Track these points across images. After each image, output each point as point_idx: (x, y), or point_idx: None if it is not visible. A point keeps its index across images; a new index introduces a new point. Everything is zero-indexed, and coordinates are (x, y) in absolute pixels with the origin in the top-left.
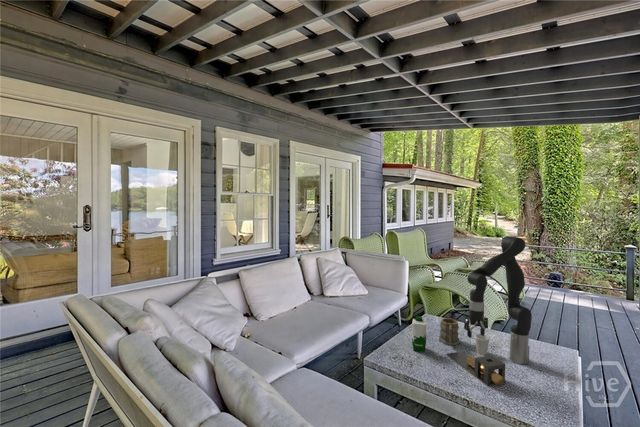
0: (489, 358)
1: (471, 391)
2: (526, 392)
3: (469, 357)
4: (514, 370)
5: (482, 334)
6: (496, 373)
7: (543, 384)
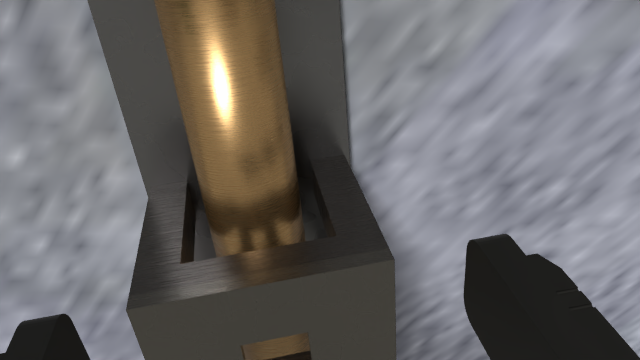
0: (308, 323)
1: None
2: (406, 355)
3: (188, 31)
4: (577, 123)
5: (477, 318)
6: (285, 346)
7: (587, 289)
